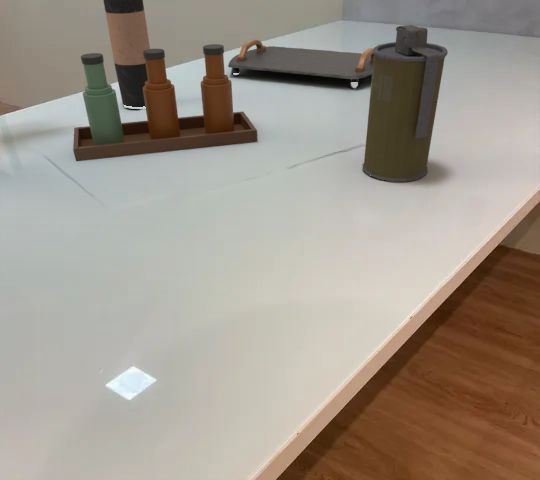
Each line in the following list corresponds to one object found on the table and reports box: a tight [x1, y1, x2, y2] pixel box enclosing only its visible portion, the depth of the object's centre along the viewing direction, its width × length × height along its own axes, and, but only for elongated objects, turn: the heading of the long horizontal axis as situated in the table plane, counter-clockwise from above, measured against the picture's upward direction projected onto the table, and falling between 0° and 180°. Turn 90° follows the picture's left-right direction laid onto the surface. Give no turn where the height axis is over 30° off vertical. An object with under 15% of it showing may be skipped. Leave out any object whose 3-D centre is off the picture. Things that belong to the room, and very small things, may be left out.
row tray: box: [72, 111, 258, 162], centre depth 101 cm, size 32×12×3 cm, turn 104°
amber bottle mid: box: [143, 48, 180, 140], centre depth 97 cm, size 5×5×14 cm
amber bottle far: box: [200, 43, 234, 134], centre depth 98 cm, size 5×5×14 cm
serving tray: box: [227, 38, 375, 82], centre depth 137 cm, size 39×23×6 cm, turn 64°
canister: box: [362, 24, 449, 183], centre depth 84 cm, size 11×10×20 cm
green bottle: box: [80, 52, 125, 145], centre depth 95 cm, size 5×5×14 cm
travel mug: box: [102, 0, 151, 107], centre depth 114 cm, size 8×8×20 cm
